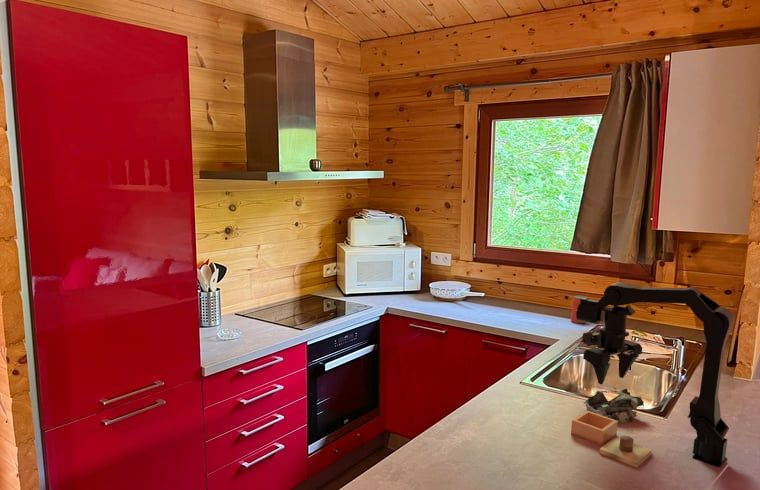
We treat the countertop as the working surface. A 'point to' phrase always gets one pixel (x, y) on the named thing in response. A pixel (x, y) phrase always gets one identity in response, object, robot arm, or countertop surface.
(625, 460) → the lid
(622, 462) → the mat
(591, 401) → the foil
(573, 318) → the beer can
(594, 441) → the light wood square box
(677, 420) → the countertop surface
